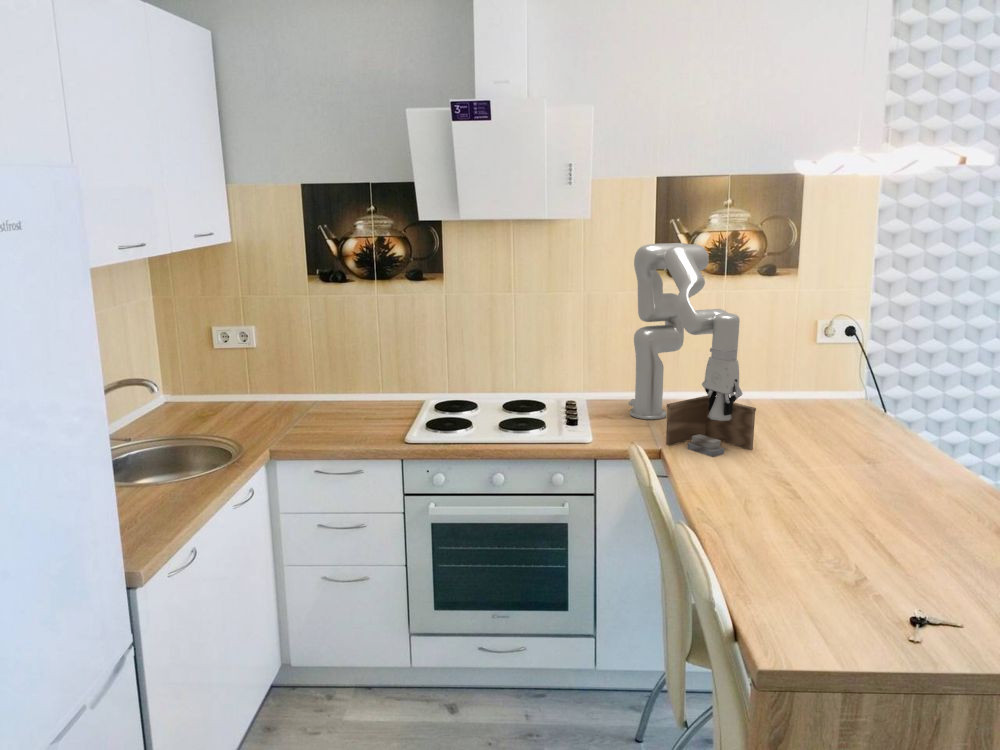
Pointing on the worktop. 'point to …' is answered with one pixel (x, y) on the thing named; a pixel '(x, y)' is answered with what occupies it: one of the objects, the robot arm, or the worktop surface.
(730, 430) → the brown wooden corner wall
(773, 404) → the worktop surface
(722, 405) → the flask
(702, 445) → the offcut top
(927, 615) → the worktop surface
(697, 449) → the tray
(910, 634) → the worktop surface
